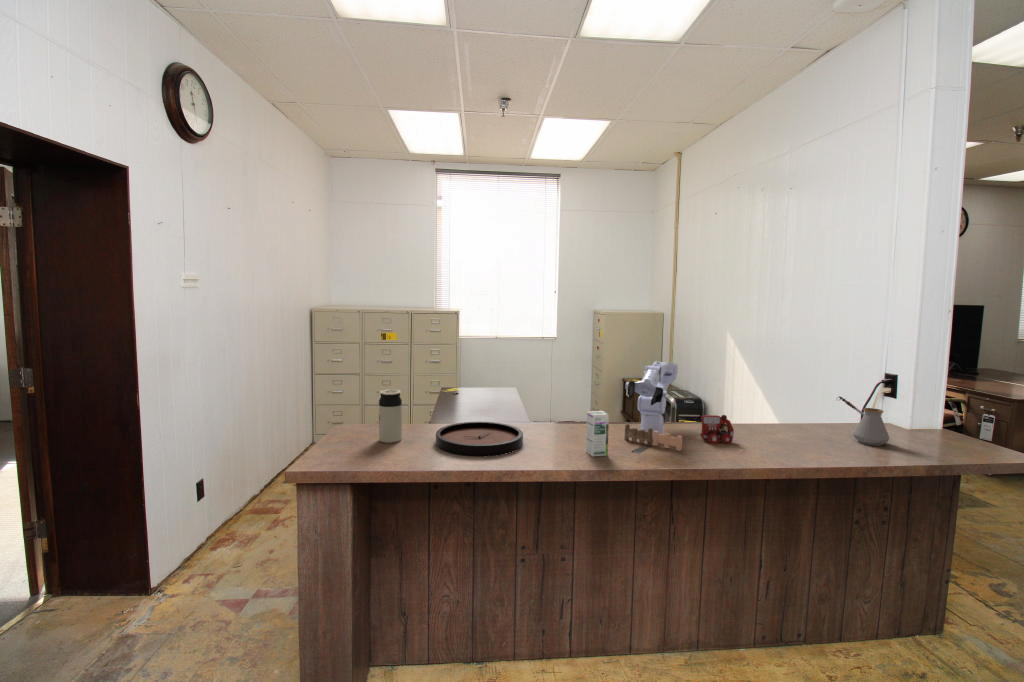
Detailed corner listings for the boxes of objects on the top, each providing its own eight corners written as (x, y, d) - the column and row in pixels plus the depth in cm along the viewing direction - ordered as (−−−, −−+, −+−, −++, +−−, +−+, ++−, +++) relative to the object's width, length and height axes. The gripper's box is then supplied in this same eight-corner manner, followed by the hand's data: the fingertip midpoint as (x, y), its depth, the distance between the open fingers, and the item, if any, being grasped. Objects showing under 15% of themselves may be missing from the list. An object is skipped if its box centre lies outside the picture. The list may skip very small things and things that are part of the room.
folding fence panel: (652, 445, 183) (653, 431, 183) (654, 444, 184) (654, 430, 184) (680, 451, 177) (681, 436, 176) (681, 450, 178) (682, 436, 178)
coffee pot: (896, 446, 191) (900, 407, 189) (872, 448, 188) (875, 408, 186) (846, 430, 211) (849, 395, 210) (823, 432, 208) (826, 396, 207)
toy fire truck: (737, 445, 188) (739, 417, 187) (704, 445, 188) (706, 417, 186) (728, 439, 195) (729, 413, 194) (696, 439, 194) (698, 412, 193)
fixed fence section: (625, 439, 191) (626, 423, 191) (652, 444, 185) (653, 428, 184) (623, 440, 190) (624, 424, 190) (650, 445, 184) (651, 429, 183)
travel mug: (404, 437, 189) (404, 389, 187) (397, 443, 181) (397, 394, 179) (383, 436, 190) (383, 388, 188) (375, 442, 182) (375, 393, 180)
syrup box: (592, 457, 171) (593, 414, 170) (585, 451, 177) (586, 410, 175) (607, 456, 172) (609, 414, 171) (600, 450, 178) (601, 409, 177)
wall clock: (462, 451, 163) (421, 428, 188) (462, 463, 163) (421, 439, 189) (540, 437, 180) (493, 417, 206) (540, 448, 181) (493, 427, 206)
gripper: (630, 369, 190) (621, 385, 179) (670, 378, 184) (663, 394, 173) (628, 386, 193) (619, 402, 181) (667, 395, 187) (660, 412, 176)
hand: (640, 400), depth 177 cm, fingers open, 7 cm apart
